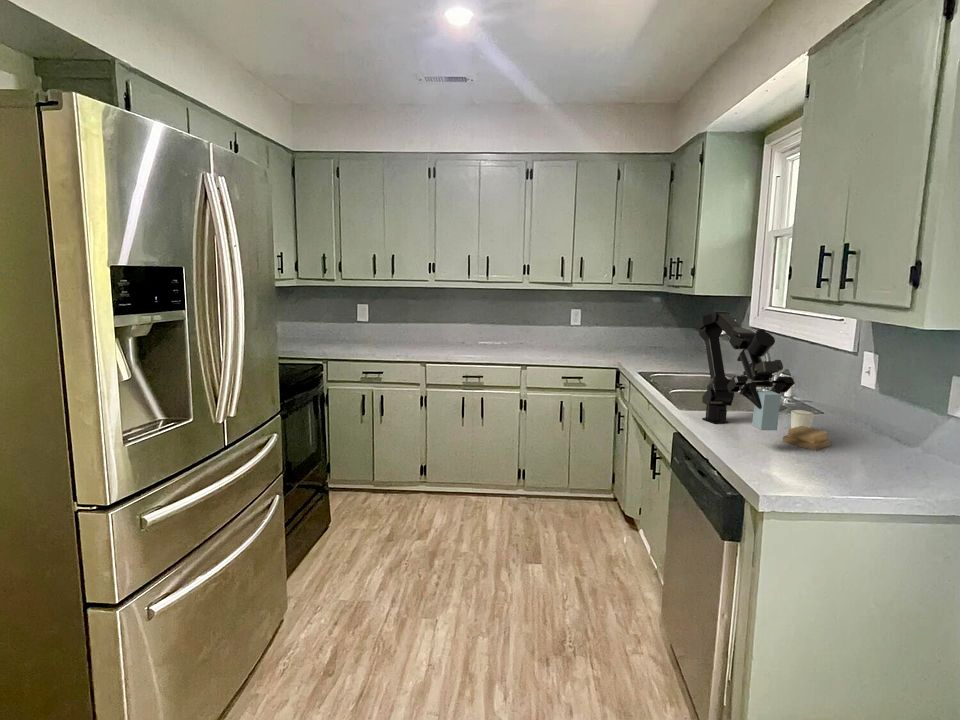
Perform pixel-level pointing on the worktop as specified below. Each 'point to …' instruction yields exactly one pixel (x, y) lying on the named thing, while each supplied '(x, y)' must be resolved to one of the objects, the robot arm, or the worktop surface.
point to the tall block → (767, 411)
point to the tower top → (807, 434)
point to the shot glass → (801, 418)
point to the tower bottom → (806, 443)
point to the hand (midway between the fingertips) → (769, 408)
